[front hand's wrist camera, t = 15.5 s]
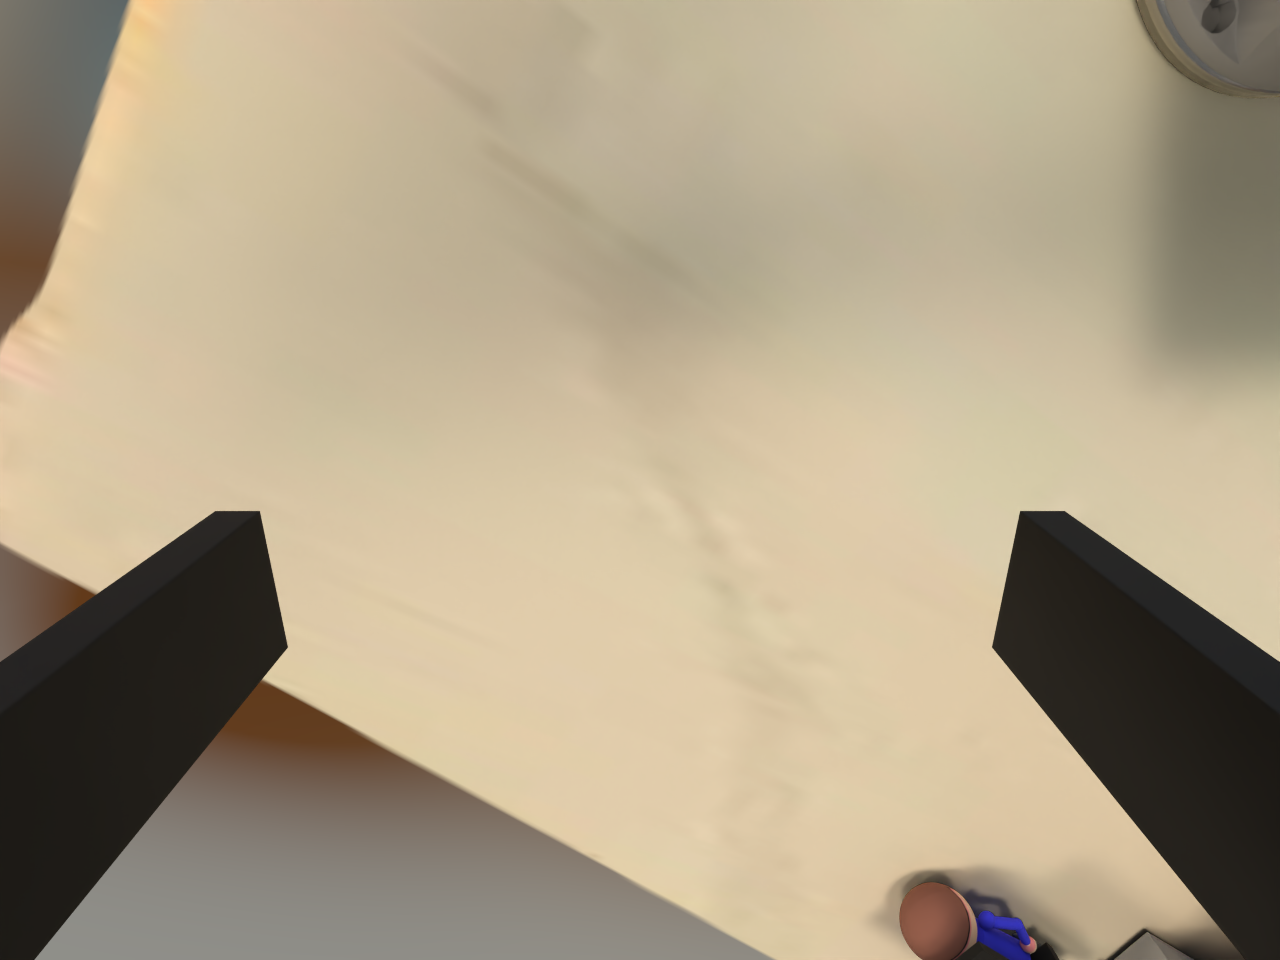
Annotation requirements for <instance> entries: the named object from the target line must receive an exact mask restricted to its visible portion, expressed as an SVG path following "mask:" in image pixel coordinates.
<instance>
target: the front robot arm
mask: <svg viewBox="0 0 1280 960" xmlns="http://www.w3.org/2000/svg"><path fill="white" fill-rule="evenodd" d="M1136 1H1137V5H1138V8H1139V11H1140V13H1141V16H1142V19H1143V21H1144V24H1145V26H1146V28H1147V30H1148V32H1149V34H1150V36H1151V37H1152V39H1153V41H1154V42H1155V44H1156V46H1157V47H1158V49H1159V50H1160V51H1161V52H1162V54H1163V55H1164V56H1165V57H1166V59H1167V60H1168V61H1169V62H1170V63H1171V64H1172V65H1173V66H1174V67H1175V68H1177V69H1178V70H1179V71H1180V72H1181V73H1183V74H1184V75H1185V76H1187V77H1188V78H1189V79H1191V80H1193V81H1194V82H1196V83H1198V84H1200V85H1202V86H1203V87H1206V88H1208V89H1211V90H1213V91H1216V92H1219V93H1223V94H1227V95H1231V96H1237V97H1244V98H1271V97H1280V0H1136ZM287 648H288V646H287V641H286V636H285V631H284V626H283V621H282V617H281V612H280V607H279V602H278V597H277V592H276V587H275V583H274V578H273V573H272V568H271V563H270V558H269V554H268V549H267V544H266V539H265V534H264V529H263V524H262V520H261V515H260V511H215V512H214V513H212V514H211V515H209V516H208V517H206V518H205V519H204V520H202V521H201V522H199V523H198V524H196V525H195V526H194V527H192V528H191V529H189V530H188V531H186V532H185V533H184V534H182V535H181V536H179V537H178V538H176V539H175V540H174V541H172V542H171V543H169V544H168V545H166V546H165V547H164V548H162V549H161V550H159V551H158V552H156V553H155V554H154V555H152V556H151V557H149V558H148V559H147V560H145V561H144V562H142V563H141V564H139V565H138V566H137V567H135V568H134V569H132V570H131V571H129V572H128V573H127V574H125V575H124V576H122V577H121V578H119V579H118V580H117V581H115V582H114V583H112V584H111V585H109V586H108V587H107V588H105V589H104V590H102V591H101V592H99V593H98V594H97V595H95V596H94V597H92V598H91V599H90V600H88V601H87V602H85V603H84V604H82V605H81V606H80V607H78V608H77V609H75V610H74V611H72V612H71V613H70V614H68V615H67V616H65V617H64V618H62V619H61V620H60V621H58V622H57V623H55V624H54V625H53V626H51V627H50V628H48V629H47V630H45V631H44V632H43V633H41V634H40V635H38V636H37V637H35V638H34V639H32V640H31V641H30V642H28V643H27V644H25V645H24V646H22V647H21V648H20V649H18V650H17V651H15V652H14V653H13V654H11V655H10V656H8V657H7V658H5V659H4V660H3V661H1V662H0V960H34V959H35V958H36V957H37V956H38V955H39V953H40V952H41V951H42V950H43V948H44V947H45V946H46V945H47V943H48V942H49V941H50V940H51V939H52V937H53V936H54V935H55V934H56V932H57V931H58V930H59V929H60V927H61V926H62V925H63V924H64V923H65V921H66V920H67V919H68V918H69V916H70V915H71V914H72V913H73V911H74V910H75V909H76V908H77V906H78V905H79V904H80V903H81V902H82V900H83V899H84V898H85V897H86V895H87V894H88V893H89V892H90V890H91V889H92V888H93V887H94V886H95V884H96V883H97V882H98V881H99V879H100V878H101V877H102V876H103V874H104V873H105V872H106V871H107V870H108V868H109V867H110V866H111V865H112V863H113V862H114V861H115V860H116V858H117V857H118V856H119V855H120V854H121V852H122V851H123V850H124V849H125V847H126V846H127V845H128V844H129V842H130V841H131V840H132V839H133V837H134V836H135V835H136V834H137V833H138V831H139V830H140V829H141V828H142V826H143V825H144V824H145V823H146V821H147V820H148V819H149V818H150V817H151V815H152V814H153V813H154V812H155V810H156V809H157V808H158V807H159V805H160V804H161V803H162V802H163V801H164V799H165V798H166V797H167V796H168V794H169V793H170V792H171V791H172V789H173V788H174V787H175V786H176V784H177V783H178V782H179V781H180V780H181V778H182V777H183V776H184V775H185V773H186V772H187V771H188V770H189V768H190V767H191V766H192V765H193V763H194V762H195V761H196V760H197V759H198V757H199V756H200V755H201V754H202V752H203V751H204V750H205V749H206V747H207V746H208V745H209V744H210V743H211V741H212V740H213V739H214V738H215V736H216V735H217V734H218V733H219V732H220V730H221V729H222V728H223V727H224V725H225V724H226V723H227V722H228V720H229V719H230V718H231V717H232V715H233V714H234V713H235V712H236V711H237V709H238V708H239V707H240V706H241V704H242V703H243V702H244V701H245V699H246V698H247V697H248V696H249V695H250V693H251V692H252V691H253V690H254V688H255V687H256V686H257V685H258V683H259V682H260V681H261V680H262V679H263V677H264V676H265V675H266V674H267V672H268V671H269V670H270V669H271V667H272V666H273V665H274V664H275V663H276V661H277V660H278V659H279V658H280V656H281V655H282V654H283V653H284V651H285V650H286V649H287ZM992 648H993V649H994V650H995V651H996V653H997V654H998V655H999V656H1000V658H1001V659H1002V660H1003V661H1004V663H1005V664H1006V665H1007V666H1008V667H1009V669H1010V670H1011V671H1012V672H1013V674H1014V675H1015V676H1016V677H1017V679H1018V680H1019V681H1020V682H1021V683H1022V685H1023V686H1024V687H1025V688H1026V690H1027V691H1028V692H1029V693H1030V695H1031V696H1032V697H1033V698H1034V699H1035V701H1036V702H1037V703H1038V704H1039V706H1040V707H1041V708H1042V709H1043V711H1044V712H1045V713H1046V714H1047V716H1048V717H1049V718H1050V719H1051V720H1052V722H1053V723H1054V724H1055V725H1056V727H1057V728H1058V729H1059V730H1060V732H1061V733H1062V734H1063V735H1064V736H1065V738H1066V739H1067V740H1068V741H1069V743H1070V744H1071V745H1072V746H1073V748H1074V749H1075V750H1076V751H1077V752H1078V754H1079V755H1080V756H1081V757H1082V759H1083V760H1084V761H1085V762H1086V764H1087V765H1088V766H1089V767H1090V768H1091V770H1092V771H1093V772H1094V773H1095V775H1096V776H1097V777H1098V778H1099V780H1100V781H1101V782H1102V783H1103V785H1104V786H1105V787H1106V788H1107V789H1108V791H1109V792H1110V793H1111V794H1112V796H1113V797H1114V798H1115V799H1116V801H1117V802H1118V803H1119V804H1120V805H1121V807H1122V808H1123V809H1124V810H1125V812H1126V813H1127V814H1128V815H1129V817H1130V818H1131V819H1132V820H1133V821H1134V823H1135V824H1136V825H1137V826H1138V828H1139V829H1140V830H1141V831H1142V833H1143V834H1144V835H1145V836H1146V838H1147V839H1148V840H1149V841H1150V842H1151V844H1152V845H1153V846H1154V847H1155V849H1156V850H1157V851H1158V852H1159V854H1160V855H1161V856H1162V857H1163V858H1164V860H1165V861H1166V862H1167V863H1168V865H1169V866H1170V867H1171V868H1172V870H1173V871H1174V872H1175V873H1176V874H1177V876H1178V877H1179V878H1180V879H1181V881H1182V882H1183V883H1184V884H1185V886H1186V887H1187V888H1188V889H1189V890H1190V892H1191V893H1192V894H1193V895H1194V897H1195V898H1196V899H1197V900H1198V902H1199V903H1200V904H1201V905H1202V907H1203V908H1204V909H1205V910H1206V911H1207V913H1208V914H1209V915H1210V916H1211V918H1212V919H1213V920H1214V921H1215V923H1216V924H1217V925H1218V926H1219V927H1220V929H1221V930H1222V931H1223V932H1224V934H1225V935H1226V936H1227V937H1228V939H1229V940H1230V941H1231V942H1232V943H1233V945H1234V946H1235V947H1236V948H1237V950H1238V951H1239V952H1240V953H1241V955H1242V956H1243V957H1244V958H1245V959H1246V960H1280V662H1279V661H1277V660H1276V659H1275V658H1273V657H1272V656H1270V655H1269V654H1268V653H1266V652H1265V651H1263V650H1262V649H1260V648H1259V647H1258V646H1256V645H1255V644H1253V643H1252V642H1250V641H1249V640H1248V639H1246V638H1245V637H1243V636H1242V635H1240V634H1239V633H1238V632H1236V631H1235V630H1233V629H1232V628H1230V627H1229V626H1228V625H1226V624H1225V623H1223V622H1222V621H1220V620H1219V619H1218V618H1216V617H1215V616H1213V615H1212V614H1210V613H1209V612H1208V611H1206V610H1205V609H1203V608H1202V607H1200V606H1199V605H1198V604H1196V603H1195V602H1193V601H1192V600H1191V599H1189V598H1188V597H1186V596H1185V595H1183V594H1182V593H1181V592H1179V591H1178V590H1176V589H1175V588H1173V587H1172V586H1171V585H1169V584H1168V583H1166V582H1165V581H1163V580H1162V579H1161V578H1159V577H1158V576H1156V575H1155V574H1153V573H1152V572H1151V571H1149V570H1148V569H1146V568H1145V567H1143V566H1142V565H1141V564H1139V563H1138V562H1136V561H1135V560H1133V559H1132V558H1131V557H1129V556H1128V555H1126V554H1125V553H1124V552H1122V551H1121V550H1119V549H1118V548H1116V547H1115V546H1114V545H1112V544H1111V543H1109V542H1108V541H1106V540H1105V539H1104V538H1102V537H1101V536H1099V535H1098V534H1096V533H1095V532H1094V531H1092V530H1091V529H1089V528H1088V527H1086V526H1085V525H1084V524H1082V523H1081V522H1079V521H1078V520H1076V519H1075V518H1074V517H1072V516H1071V515H1069V514H1068V513H1066V512H1065V511H1020V515H1019V520H1018V524H1017V529H1016V534H1015V539H1014V544H1013V549H1012V554H1011V558H1010V563H1009V568H1008V573H1007V578H1006V583H1005V587H1004V592H1003V597H1002V602H1001V607H1000V612H999V617H998V621H997V626H996V631H995V636H994V641H993V646H992Z"/></svg>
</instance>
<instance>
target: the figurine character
mask: <svg viewBox="0 0 1280 960" xmlns="http://www.w3.org/2000/svg"><path fill="white" fill-rule="evenodd" d="M900 927H901V931H902V934H903V936H904V938H905V940H906V942H907V944H908V945H909V947H910V948H911V949H912V951H913V952H914V953H915V954H916V955H917V956H918V957H920V958H921V959H922V960H1059V958H1058V956H1057V955H1056V953H1055V951H1054V950H1053V948H1052V946H1050V945H1049V944H1047V943H1044V944H1043V945H1042V946H1041V944H1040V943H1038V942H1036V941H1035V940H1034V939H1033V938H1032V937H1030V936H1028V934H1027V932H1026V929H1025V927H1024V925H1023V923H1022V921H1021V920H1020V919H1018V918H1009V917H999V916H994V915H993V914H992V913H991V912H990V911H983V912H981V913H980V914H979V916H978V919H977V918H975V916H974V913H973V911H972V909H971V907H970V906H969V904H968V903H967V901H966V900H965V899H964V898H963V897H962V896H961V895H960V894H959V893H958V892H957V891H955V890H954V889H952V888H950V887H949V886H946V885H944V884H940V883H934V882H929V883H923V884H920V885H918V886H916V887H914V888H913V889H911V890H910V891H909V892H908V893H907V895H906V896H905V898H904V900H903V902H902V904H901V908H900ZM999 929H1007V930H1015V931H1016V933H1013V934H1012V936H1010V935H1008V934H1006V933H1004V932H1003V931H1001V930H999ZM1030 953H1031V954H1030Z"/></svg>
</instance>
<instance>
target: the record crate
mask: <svg viewBox="0 0 1280 960" xmlns="http://www.w3.org/2000/svg"><path fill="white" fill-rule="evenodd" d="M1114 960H1194V959H1192V958H1190V957H1189V956H1187V955H1185V954H1183V953H1182V952H1180V951H1178V950H1177V949H1175V948H1173V947H1172V946H1170V945H1168V944H1167V943H1165V942H1163V941H1162V940H1160V939H1158V938H1157V937H1155V936H1153V935H1152V934H1150V933H1148V932H1146V933H1145V934H1144V935H1143V936H1142V937H1140V938H1139V939H1138V940H1137V941H1136V942H1134V943H1133V944H1132V945H1131V946H1130V947H1128V948H1127V949H1126V950H1125V951H1124V952H1122V953H1121V954H1120V955H1119V956H1118V957H1116V958H1115V959H1114Z"/></svg>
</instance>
